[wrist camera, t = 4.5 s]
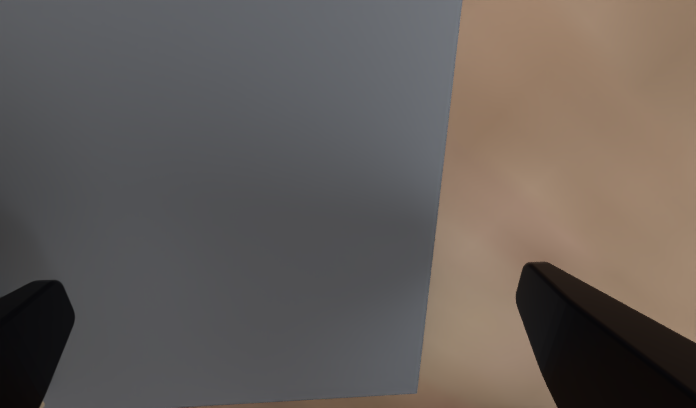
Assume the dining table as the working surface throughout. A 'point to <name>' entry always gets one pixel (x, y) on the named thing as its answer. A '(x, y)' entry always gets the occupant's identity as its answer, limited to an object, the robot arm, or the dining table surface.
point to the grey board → (226, 191)
